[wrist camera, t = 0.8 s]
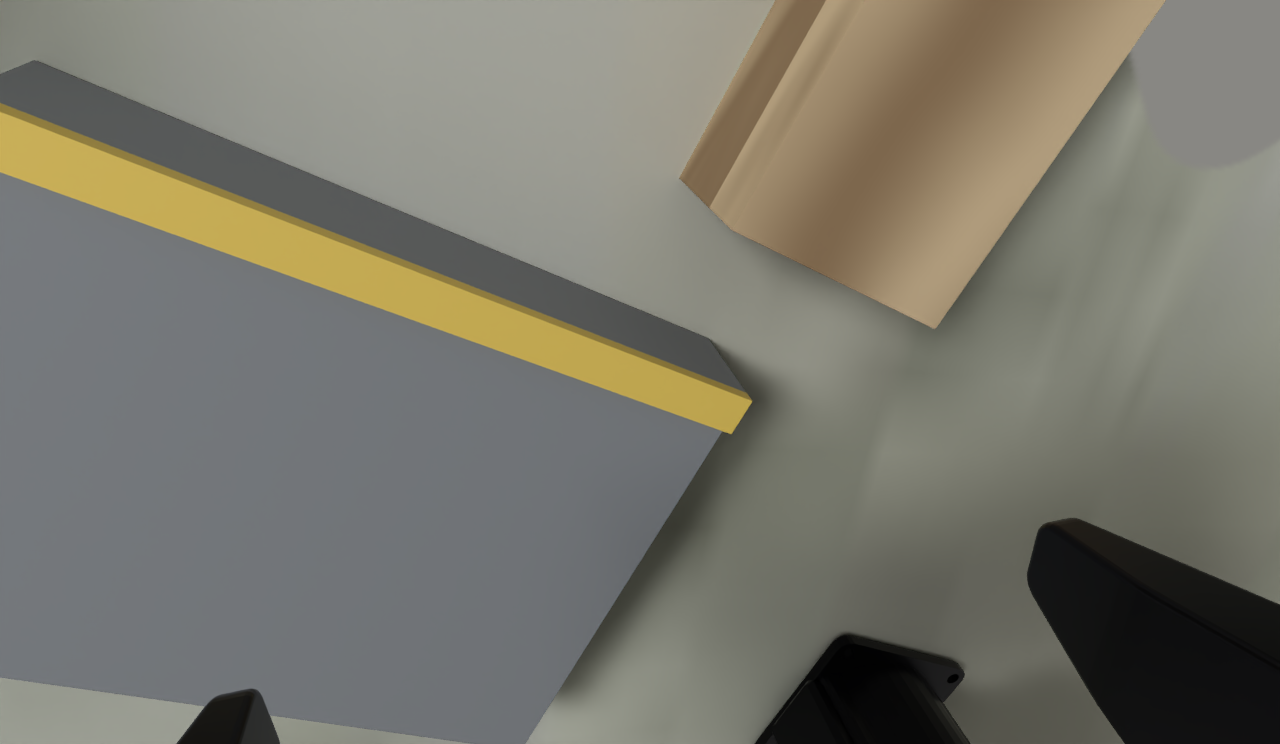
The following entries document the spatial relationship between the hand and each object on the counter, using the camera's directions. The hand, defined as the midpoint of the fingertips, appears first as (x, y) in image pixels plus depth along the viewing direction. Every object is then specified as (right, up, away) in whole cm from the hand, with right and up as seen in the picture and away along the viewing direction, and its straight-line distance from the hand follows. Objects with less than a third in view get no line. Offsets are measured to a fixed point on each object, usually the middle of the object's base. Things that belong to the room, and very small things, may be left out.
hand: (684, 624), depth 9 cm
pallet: (+5, +11, +11) cm, 16 cm away
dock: (-8, +1, +12) cm, 15 cm away
